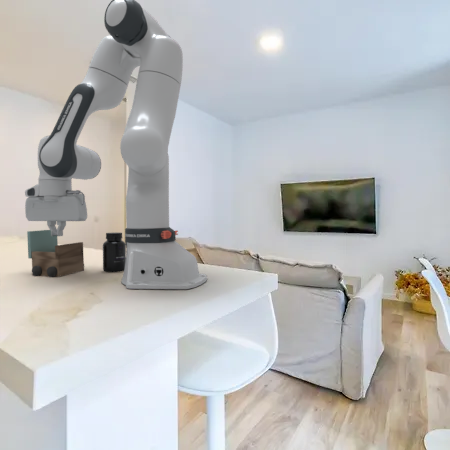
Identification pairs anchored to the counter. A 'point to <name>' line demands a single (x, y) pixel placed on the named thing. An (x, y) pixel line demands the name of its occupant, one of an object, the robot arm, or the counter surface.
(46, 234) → the panel
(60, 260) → the cart
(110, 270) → the supplement bottle
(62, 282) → the counter surface
